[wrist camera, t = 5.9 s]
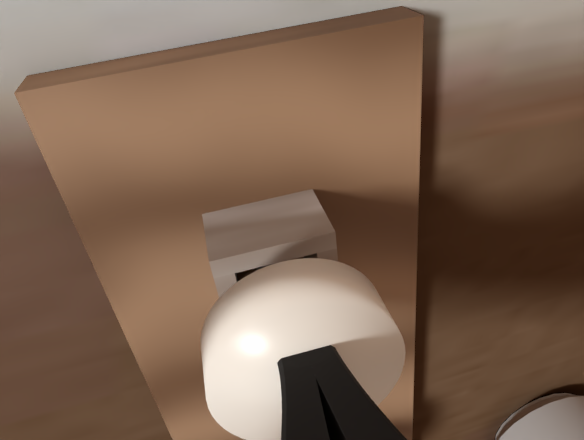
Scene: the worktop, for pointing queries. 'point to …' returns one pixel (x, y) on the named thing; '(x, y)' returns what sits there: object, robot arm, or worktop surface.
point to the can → (546, 419)
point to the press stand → (240, 180)
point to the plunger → (293, 339)
